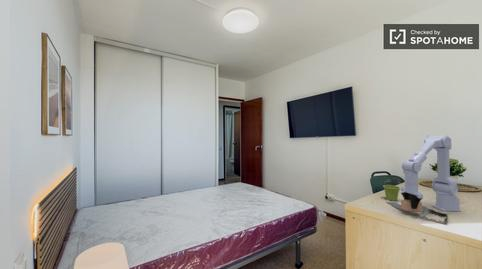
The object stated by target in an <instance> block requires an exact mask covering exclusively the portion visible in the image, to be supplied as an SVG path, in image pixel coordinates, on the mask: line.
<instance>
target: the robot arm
mask: <svg viewBox="0 0 482 269" xmlns="http://www.w3.org/2000/svg"><path fill="white" fill-rule="evenodd" d="M423 142H424V143H423V145H422V146H421V148H420V150H419V151H416V152H415V151H414V153H413V154H412V155H411V156H410V157H409V159H408V160H406V161H403V162H402V165H401V169H402V171H403V175H404V186H402V187H400V191H401V192H400V193H401V196H402V197H403V200H410V201H411V207H412V209H417V207H418V204H419V202H422V200H423V199H424V195H423V194H422V193H421V192H420V191H419V172H421V170H422V166H423V165H422V164H423V163H424V162H425V161H426V160H427V159H428V158H427V155H428V154H429V153H430V152H431V151H432V150H435V151H436V155H437V156H436V158H437V161H436V162H437V163H436V165H437V177H435V178H432V184H431V188H432V189H431V190H433V191H434V193H435V204H432V205H431V206H432V207H433V208H436V209H438V210H441V211H446V212H462V211H461V209H460V204H461V203H460V202H461V201H460V197H459V196H458V195H457V193H458V192H459V187H458V184H457V181H456V180H455V179H453V178H451V172H450V171H451V170H450V169H451V164H450V150H452V139H451V137H450V136H448V135H427V136H425V137H424V139H423Z"/></svg>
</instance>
